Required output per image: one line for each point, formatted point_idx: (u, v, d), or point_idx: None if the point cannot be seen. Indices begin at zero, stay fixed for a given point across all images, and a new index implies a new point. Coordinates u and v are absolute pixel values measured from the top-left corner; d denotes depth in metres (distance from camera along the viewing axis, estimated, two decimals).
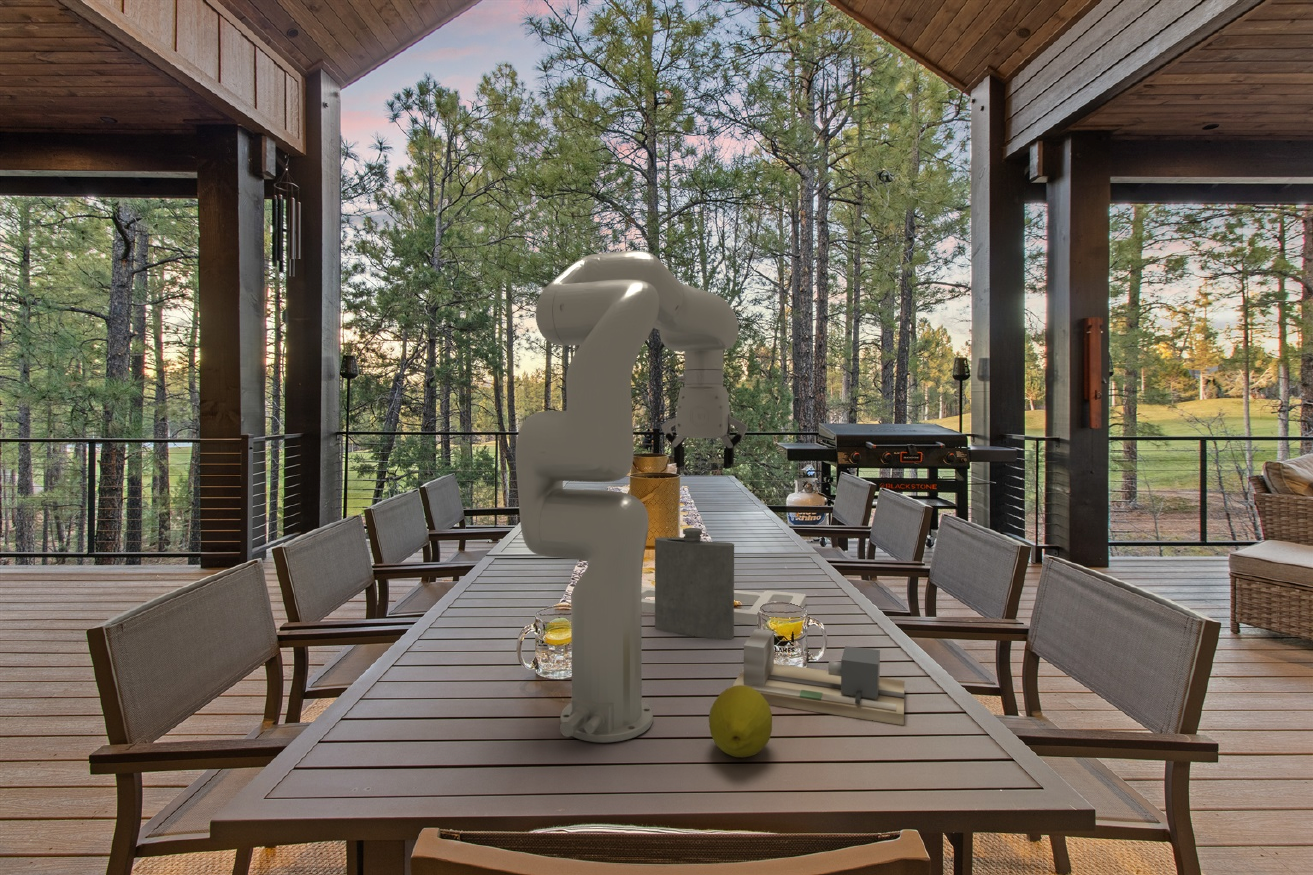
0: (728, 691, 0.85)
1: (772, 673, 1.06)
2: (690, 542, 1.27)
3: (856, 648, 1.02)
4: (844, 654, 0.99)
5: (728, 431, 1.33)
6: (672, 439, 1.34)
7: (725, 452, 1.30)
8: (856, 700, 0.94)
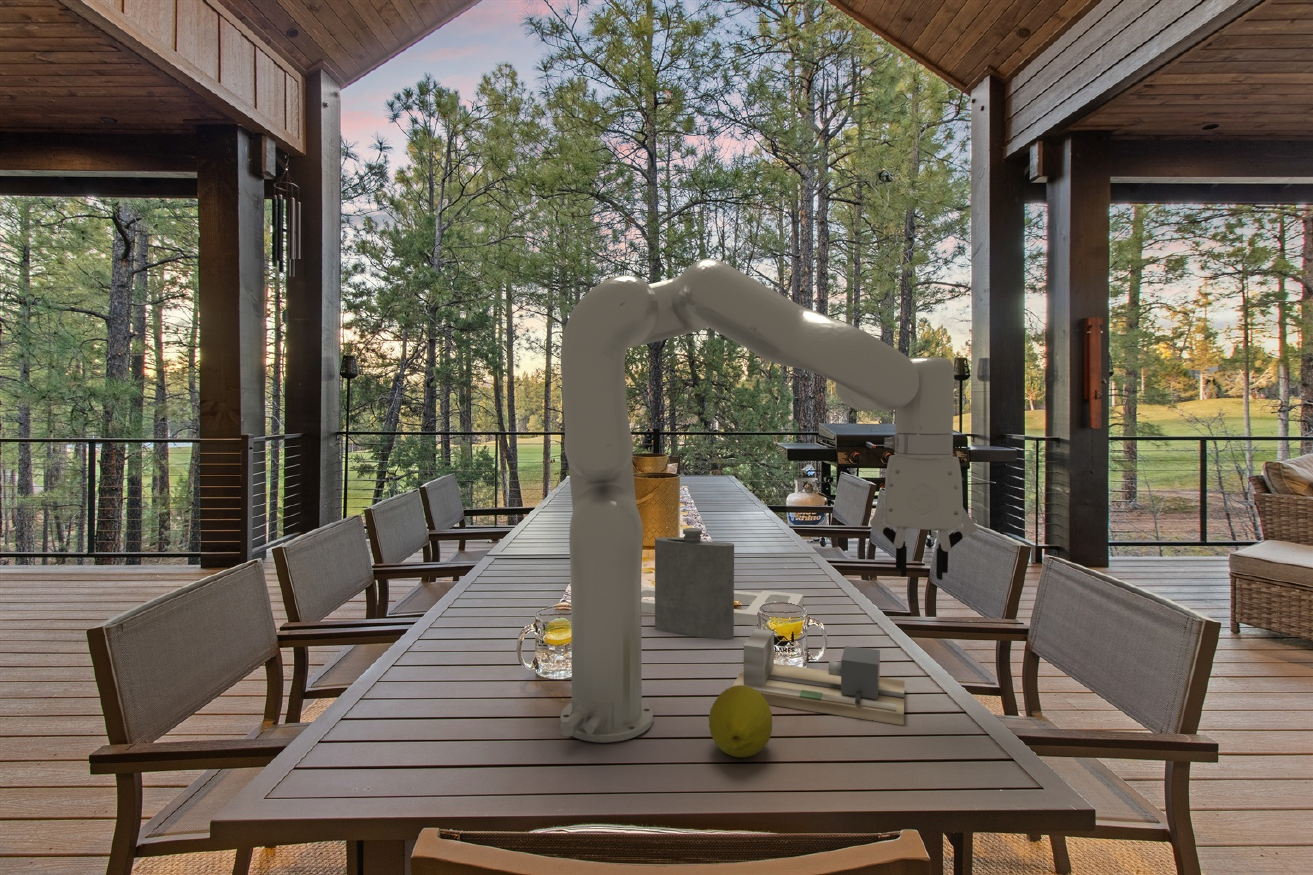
0: (728, 691, 0.85)
1: (772, 673, 1.06)
2: (690, 542, 1.27)
3: (856, 648, 1.02)
4: (844, 654, 0.99)
5: None
6: (891, 539, 0.96)
7: (940, 557, 0.93)
8: (856, 700, 0.94)
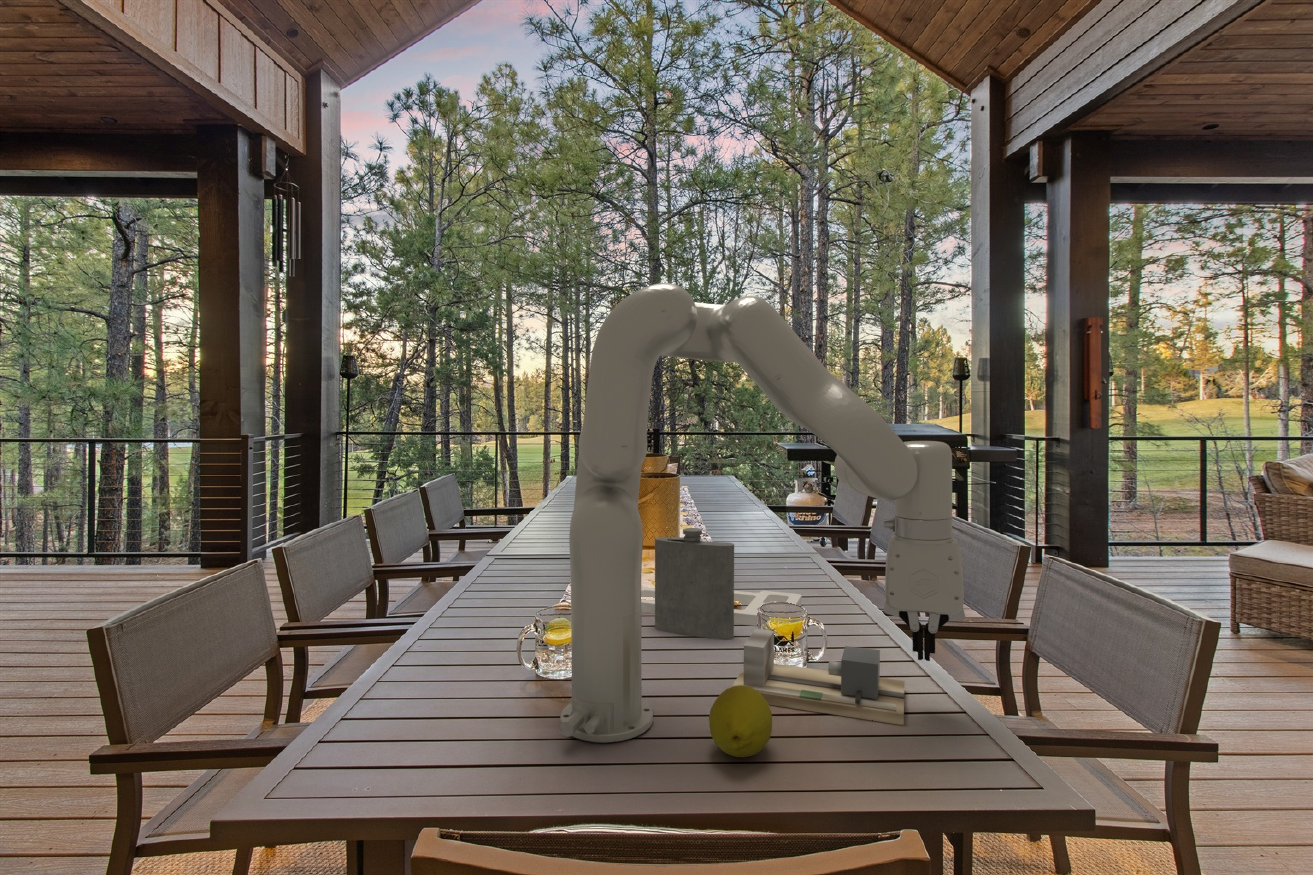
0: (728, 691, 0.85)
1: (772, 673, 1.06)
2: (690, 542, 1.27)
3: (856, 648, 1.02)
4: (844, 654, 0.99)
5: None
6: None
7: (927, 639, 0.95)
8: (856, 700, 0.94)
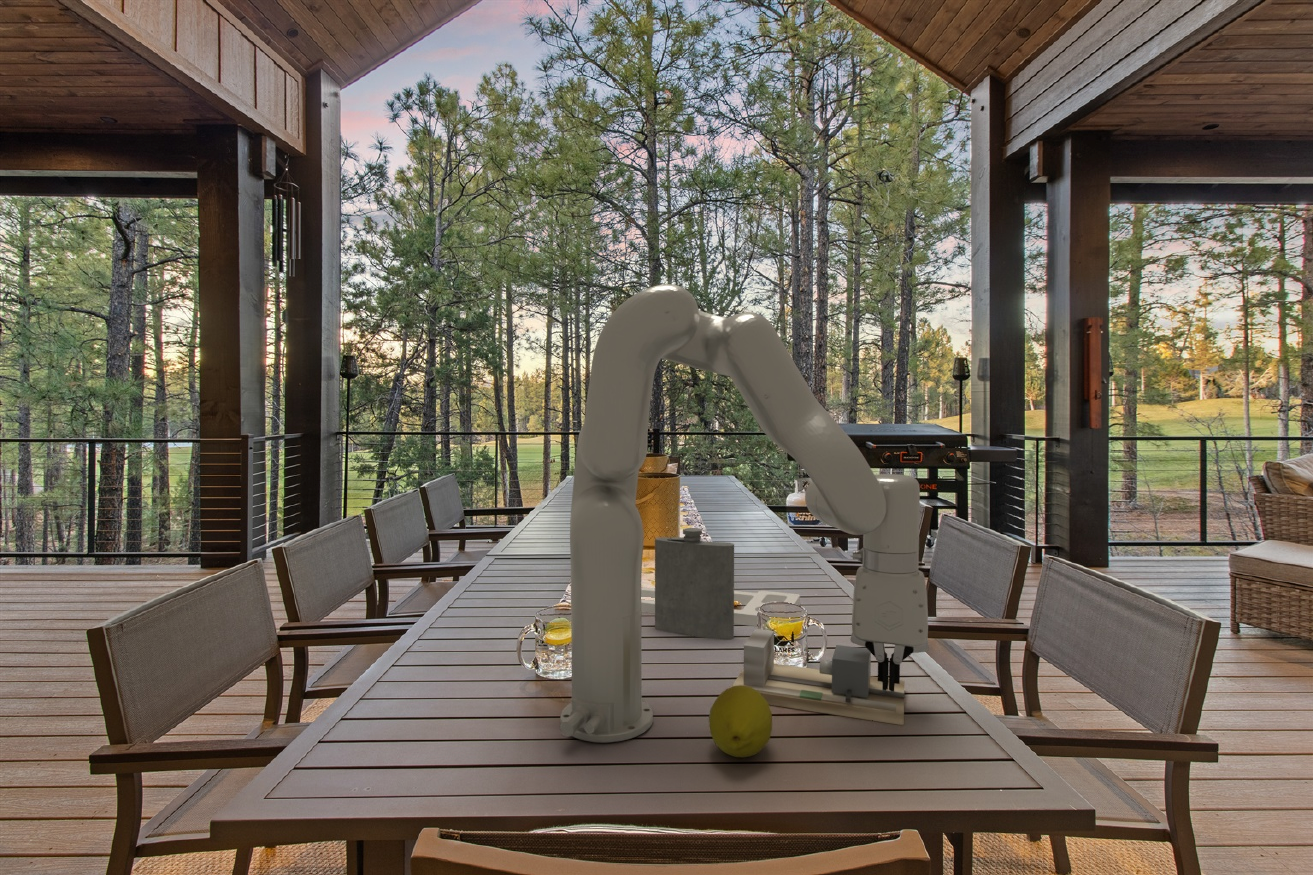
0: (728, 691, 0.85)
1: (772, 673, 1.06)
2: (690, 542, 1.27)
3: (847, 647, 1.02)
4: (835, 653, 1.00)
5: None
6: None
7: (891, 669, 0.96)
8: (846, 699, 0.94)
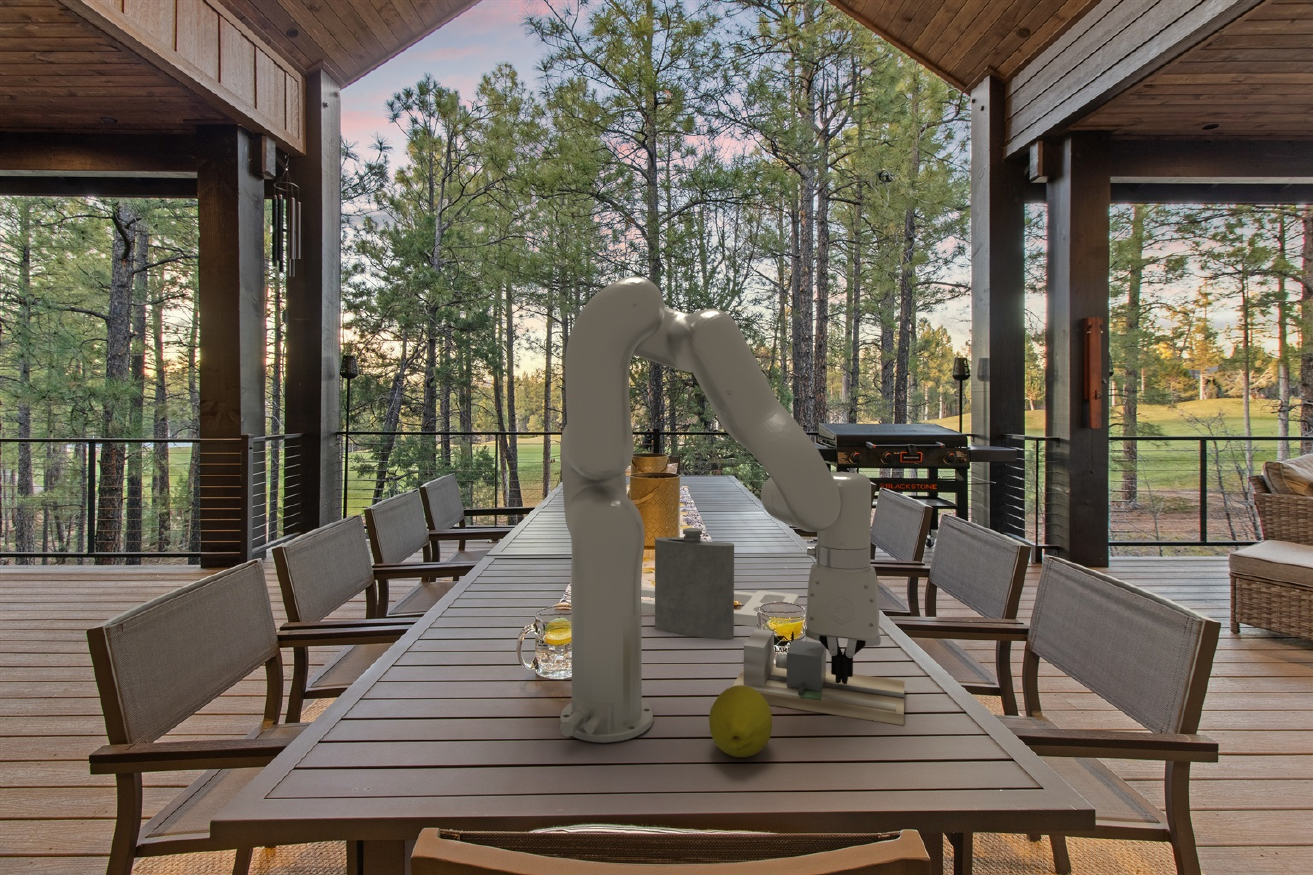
0: (728, 691, 0.85)
1: (772, 673, 1.06)
2: (690, 542, 1.27)
3: (803, 642, 1.04)
4: (791, 647, 1.02)
5: None
6: (826, 648, 1.00)
7: (844, 663, 0.98)
8: (799, 692, 0.96)
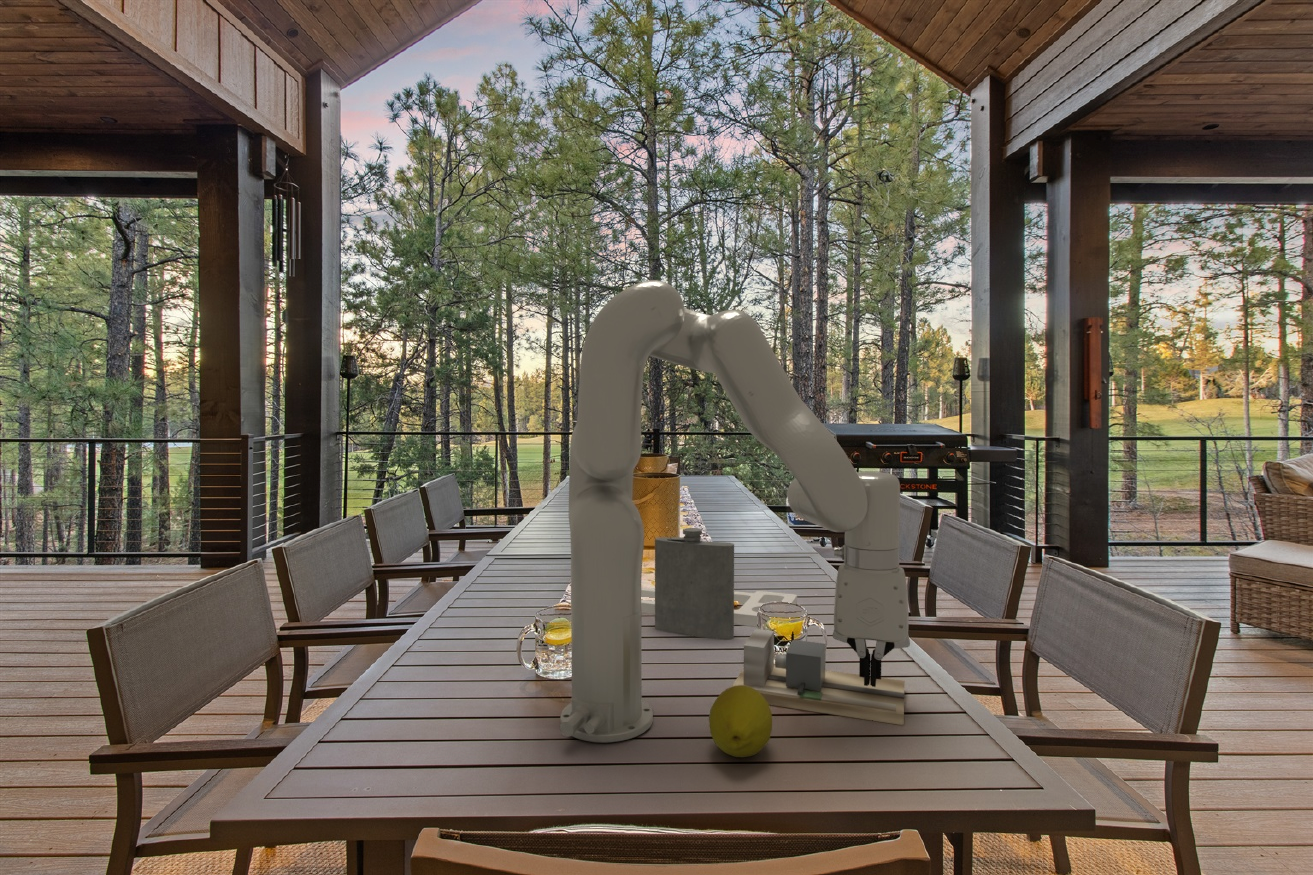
0: (728, 691, 0.85)
1: (772, 673, 1.06)
2: (690, 542, 1.27)
3: (803, 642, 1.04)
4: (790, 647, 1.02)
5: None
6: None
7: (873, 665, 0.97)
8: (798, 692, 0.96)
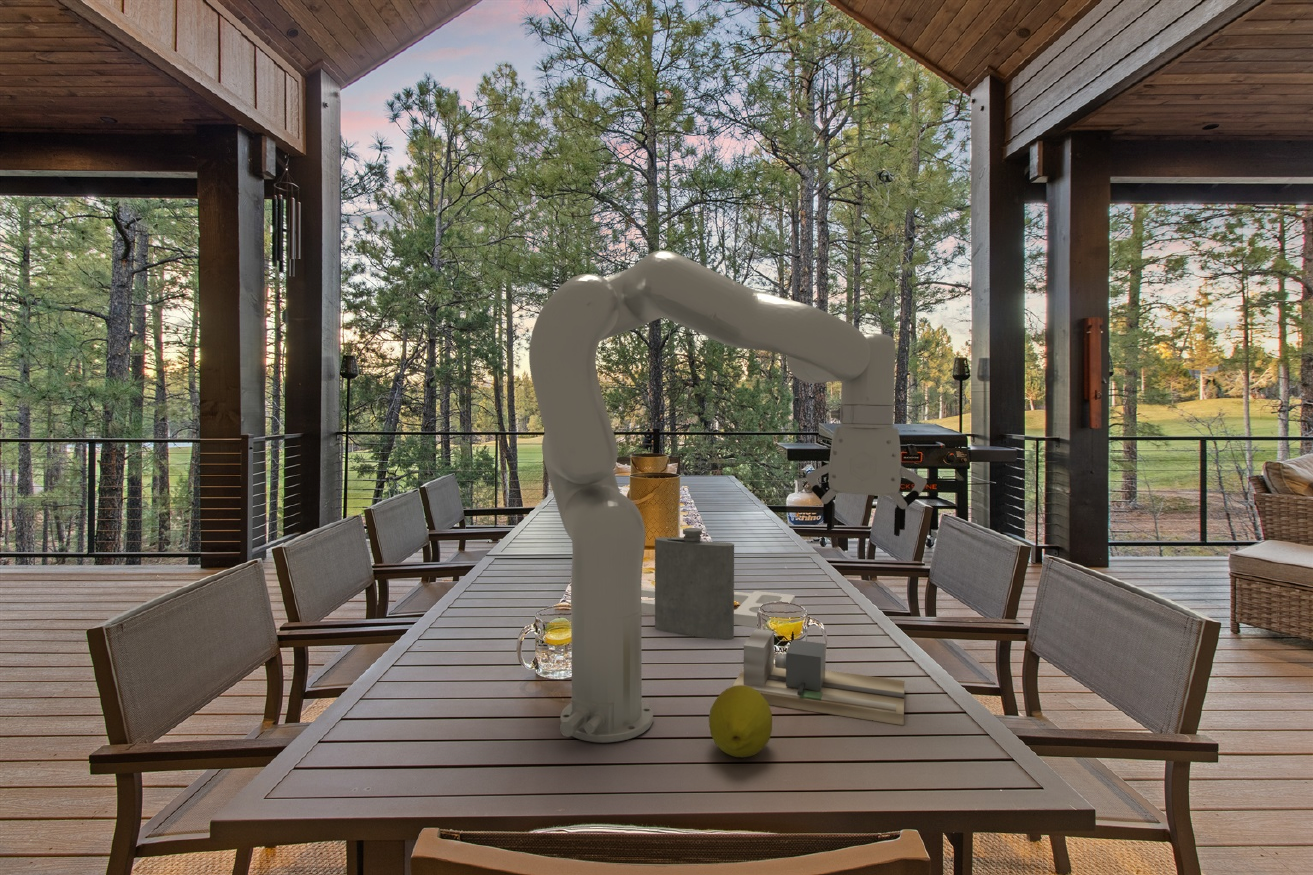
0: (728, 691, 0.85)
1: (772, 673, 1.06)
2: (690, 542, 1.27)
3: (803, 642, 1.04)
4: (790, 647, 1.02)
5: None
6: (821, 493, 1.03)
7: (897, 514, 0.99)
8: (798, 692, 0.96)
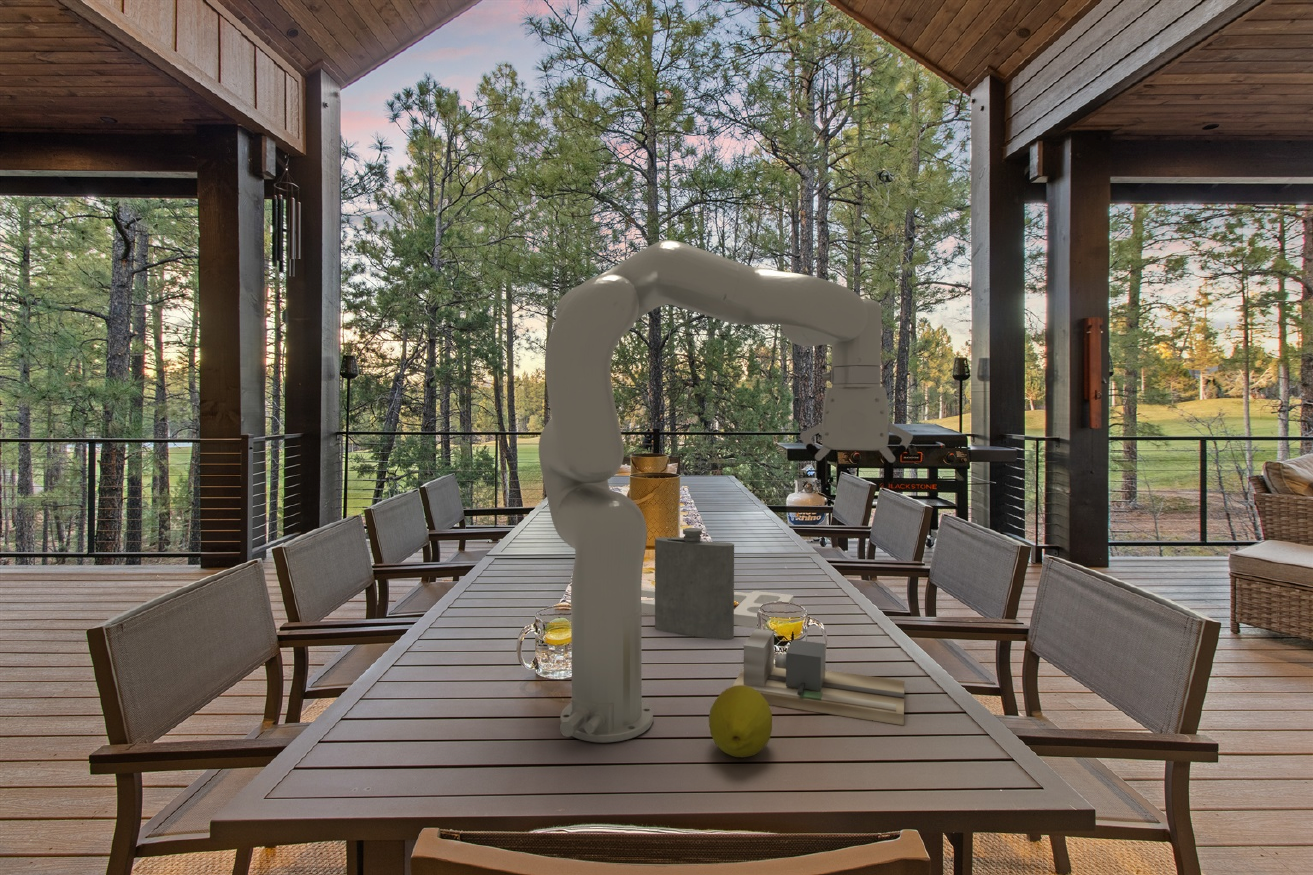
0: (728, 691, 0.85)
1: (772, 673, 1.06)
2: (690, 542, 1.27)
3: (803, 642, 1.04)
4: (790, 647, 1.02)
5: None
6: (815, 451, 1.10)
7: (886, 467, 1.06)
8: (798, 692, 0.96)
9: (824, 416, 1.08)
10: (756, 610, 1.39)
